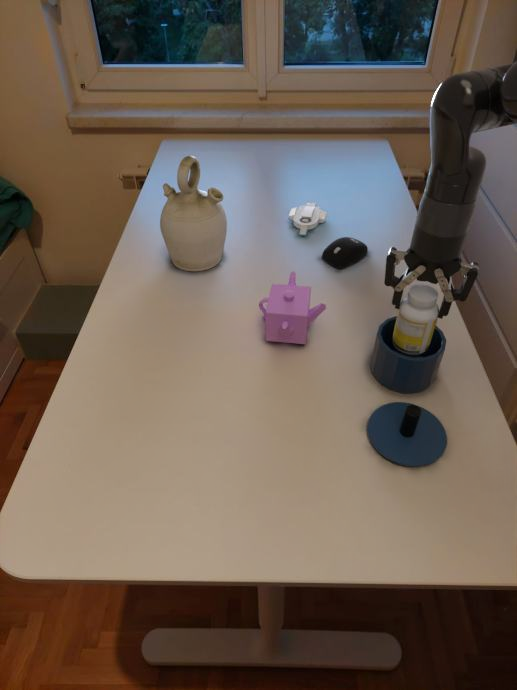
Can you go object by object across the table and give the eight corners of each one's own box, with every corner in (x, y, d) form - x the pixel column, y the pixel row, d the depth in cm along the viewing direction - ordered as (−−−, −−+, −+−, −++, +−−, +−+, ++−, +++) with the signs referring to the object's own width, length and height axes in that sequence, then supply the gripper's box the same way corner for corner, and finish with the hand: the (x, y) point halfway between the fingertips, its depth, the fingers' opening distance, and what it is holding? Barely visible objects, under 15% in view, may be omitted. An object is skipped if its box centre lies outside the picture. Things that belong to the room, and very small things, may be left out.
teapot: (321, 366, 95) (325, 327, 89) (252, 359, 97) (251, 321, 90) (325, 306, 108) (329, 269, 102) (264, 302, 110) (264, 264, 103)
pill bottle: (422, 331, 92) (437, 279, 84) (433, 355, 87) (450, 303, 79) (387, 333, 92) (398, 281, 84) (396, 357, 87) (409, 305, 79)
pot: (438, 357, 97) (449, 323, 91) (430, 401, 89) (442, 367, 83) (377, 342, 100) (384, 309, 94) (364, 383, 92) (371, 350, 86)
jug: (241, 253, 124) (237, 153, 107) (199, 283, 115) (188, 179, 98) (195, 234, 131) (185, 137, 113) (152, 261, 122) (134, 160, 104)
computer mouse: (374, 254, 123) (377, 240, 120) (340, 272, 118) (341, 258, 115) (352, 241, 127) (354, 227, 125) (317, 258, 122) (319, 244, 119)
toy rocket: (294, 205, 142) (294, 197, 140) (328, 209, 140) (329, 201, 138) (283, 234, 130) (283, 226, 129) (320, 238, 128) (320, 230, 127)
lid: (449, 417, 86) (459, 392, 81) (441, 479, 77) (452, 454, 73) (374, 398, 89) (380, 372, 85) (359, 454, 81) (364, 429, 76)
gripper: (388, 225, 72) (371, 314, 84) (494, 243, 69) (461, 334, 80) (397, 202, 77) (380, 289, 89) (495, 218, 74) (465, 307, 85)
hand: (418, 310), depth 84 cm, fingers closed on pill bottle, 6 cm apart
